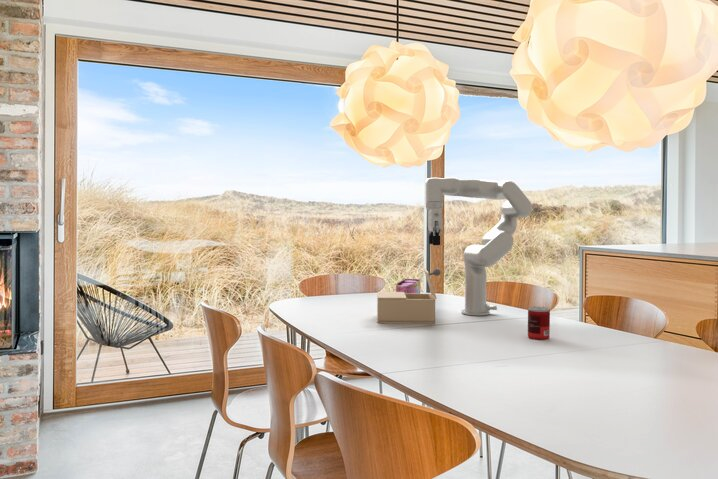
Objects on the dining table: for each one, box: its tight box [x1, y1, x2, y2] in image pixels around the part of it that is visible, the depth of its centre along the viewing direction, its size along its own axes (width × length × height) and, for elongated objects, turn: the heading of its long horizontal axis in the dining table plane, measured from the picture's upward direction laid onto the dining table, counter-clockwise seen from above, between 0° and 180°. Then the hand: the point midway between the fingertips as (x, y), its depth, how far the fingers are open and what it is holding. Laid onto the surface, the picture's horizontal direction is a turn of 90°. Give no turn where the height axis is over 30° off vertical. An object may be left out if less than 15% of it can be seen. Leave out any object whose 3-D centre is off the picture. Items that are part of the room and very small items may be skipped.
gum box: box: [395, 278, 421, 294], centre depth 271 cm, size 24×8×14 cm, turn 164°
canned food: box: [527, 306, 551, 341], centre depth 209 cm, size 8×8×11 cm
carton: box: [376, 291, 436, 324], centre depth 246 cm, size 24×18×11 cm
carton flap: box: [423, 267, 442, 300], centre depth 245 cm, size 12×17×6 cm
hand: (434, 244), depth 251 cm, fingers open, 9 cm apart
